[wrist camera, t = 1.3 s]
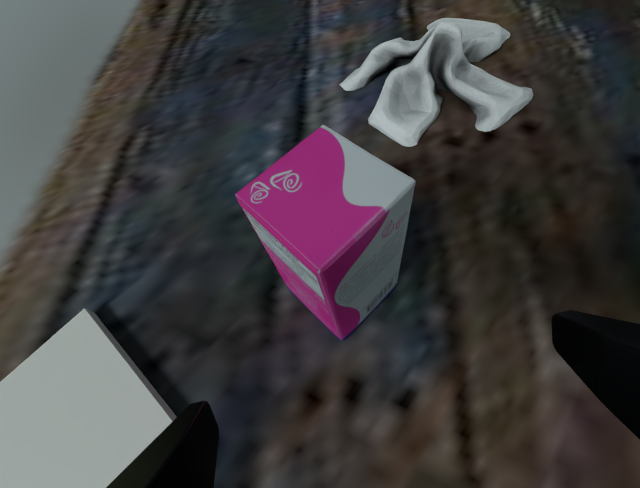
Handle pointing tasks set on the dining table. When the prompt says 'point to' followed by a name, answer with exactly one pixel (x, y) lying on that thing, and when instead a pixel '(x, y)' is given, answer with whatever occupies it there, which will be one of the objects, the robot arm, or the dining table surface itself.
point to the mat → (76, 411)
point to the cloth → (438, 79)
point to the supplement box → (332, 226)
